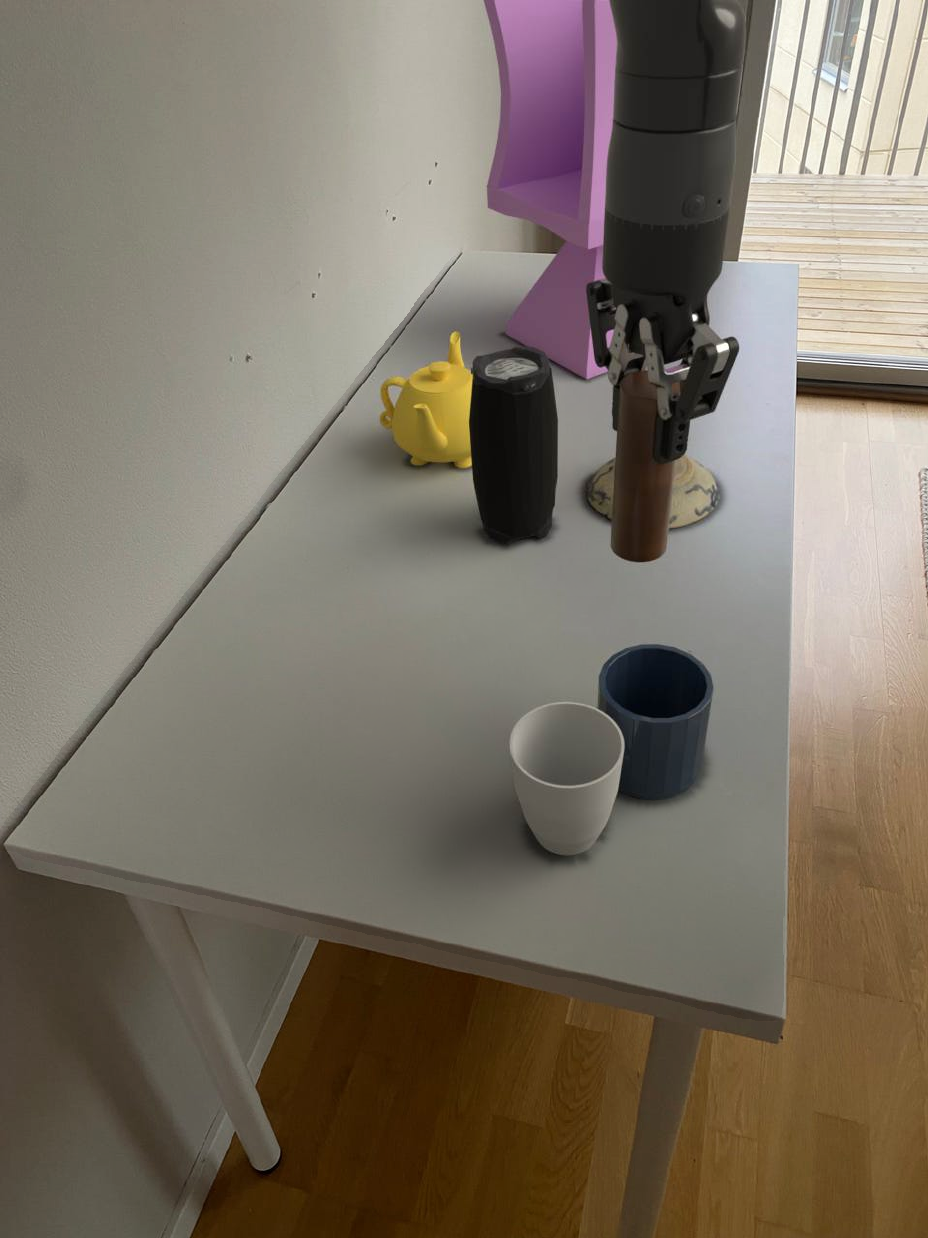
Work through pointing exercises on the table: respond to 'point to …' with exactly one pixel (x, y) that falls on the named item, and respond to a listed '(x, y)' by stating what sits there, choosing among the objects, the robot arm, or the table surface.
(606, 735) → the cup
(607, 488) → the decorative bowl
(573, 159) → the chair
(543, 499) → the portable speaker
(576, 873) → the table surface
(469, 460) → the teapot
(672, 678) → the crock
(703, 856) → the table surface
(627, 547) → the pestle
